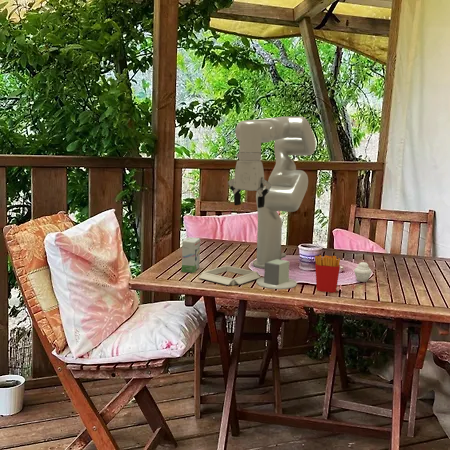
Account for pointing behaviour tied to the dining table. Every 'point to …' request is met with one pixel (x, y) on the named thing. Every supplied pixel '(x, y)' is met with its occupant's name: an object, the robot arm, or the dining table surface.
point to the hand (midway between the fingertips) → (249, 206)
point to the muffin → (362, 272)
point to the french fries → (327, 273)
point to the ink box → (190, 254)
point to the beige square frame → (246, 277)
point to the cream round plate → (285, 285)
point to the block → (276, 272)
